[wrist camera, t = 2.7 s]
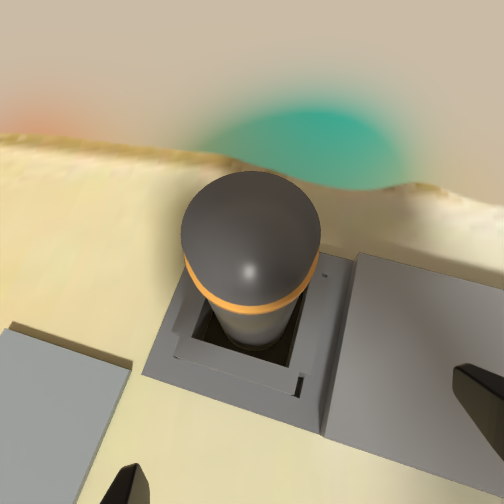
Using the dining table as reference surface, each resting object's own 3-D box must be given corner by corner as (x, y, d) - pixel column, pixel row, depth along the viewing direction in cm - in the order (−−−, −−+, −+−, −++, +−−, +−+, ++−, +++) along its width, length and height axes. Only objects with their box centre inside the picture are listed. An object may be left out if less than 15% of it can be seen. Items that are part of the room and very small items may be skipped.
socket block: (532, 505, 18) (592, 529, 15) (146, 375, 21) (126, 371, 18) (527, 313, 22) (573, 299, 19) (205, 227, 25) (198, 203, 22)
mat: (60, 541, 18) (54, 545, 17) (-80, 482, 19) (-88, 484, 18) (131, 370, 21) (128, 369, 21) (10, 329, 22) (4, 328, 22)
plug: (278, 362, 21) (306, 320, 9) (209, 341, 22) (152, 275, 10) (296, 294, 23) (338, 185, 11) (232, 276, 24) (206, 154, 12)
